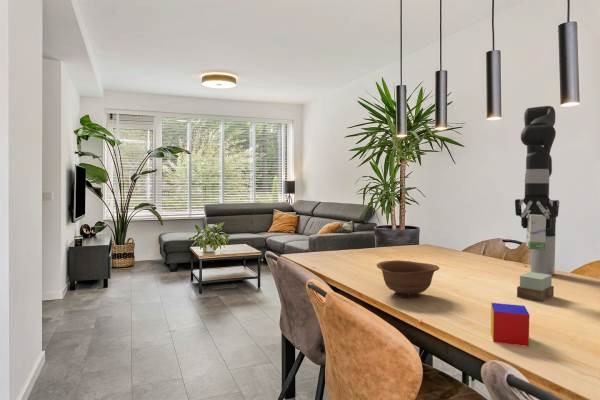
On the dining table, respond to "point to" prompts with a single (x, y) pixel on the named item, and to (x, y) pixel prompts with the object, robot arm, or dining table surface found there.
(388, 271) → the bowl
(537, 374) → the dining table surface
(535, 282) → the sage block
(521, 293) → the walnut slab
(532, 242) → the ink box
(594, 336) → the dining table surface
